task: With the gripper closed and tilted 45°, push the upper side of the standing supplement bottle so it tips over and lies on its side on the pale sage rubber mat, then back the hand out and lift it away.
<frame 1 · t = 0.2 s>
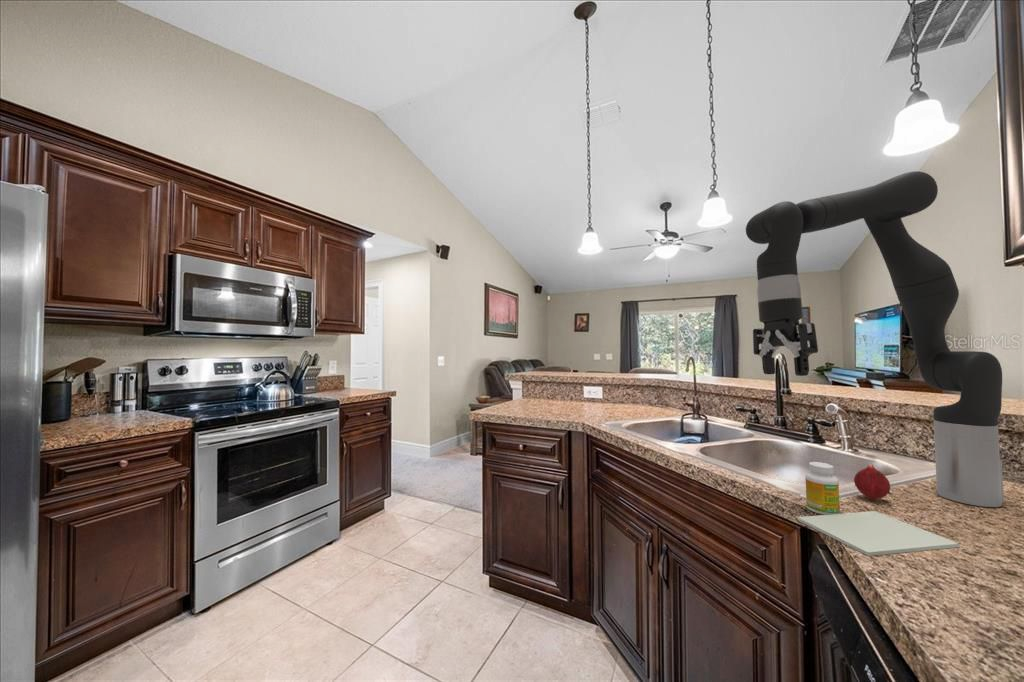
hand: (784, 374, 78), 29 cm above the countertop, tool pointing down, fingers open, 8 cm apart
supplement bottle: (822, 511, 78), on the countertop
onion: (872, 501, 83), on the countertop
mat: (872, 532, 69), on the countertop
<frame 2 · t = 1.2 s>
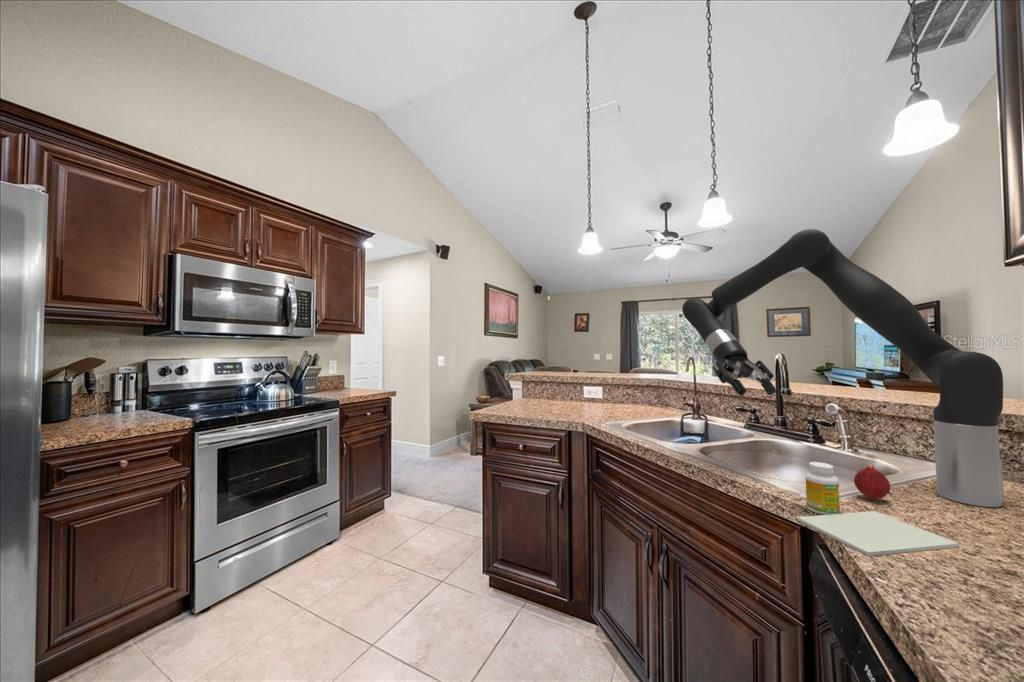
hand: (758, 393, 94), 23 cm above the countertop, tool tilted 45°, fingers open, 8 cm apart
nothing on the countertop moved.
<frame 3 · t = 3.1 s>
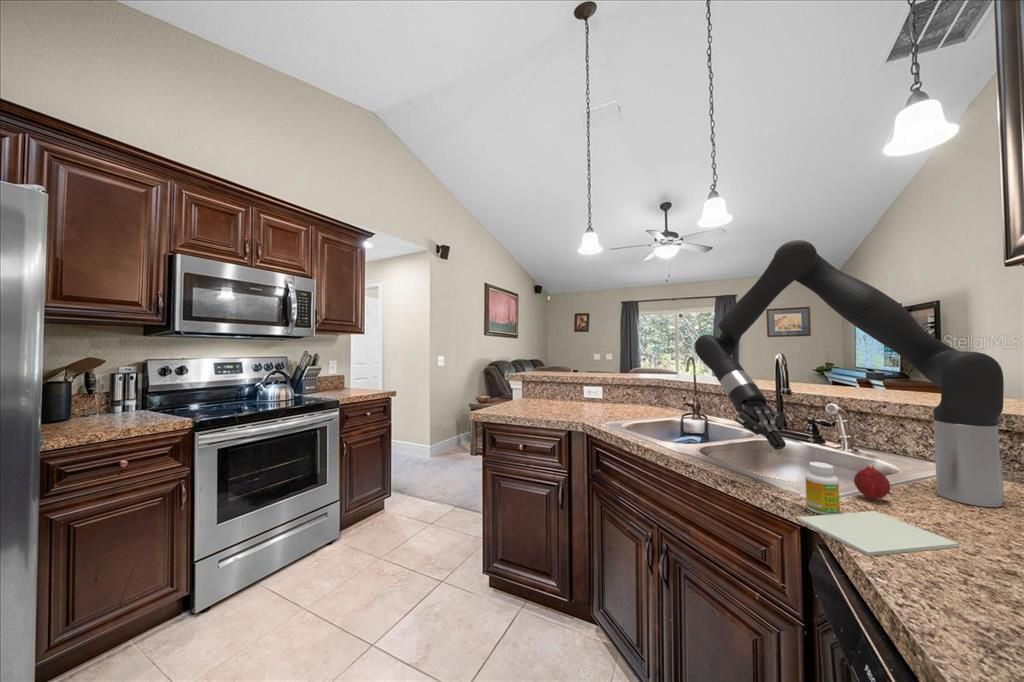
hand: (780, 447, 88), 11 cm above the countertop, tool tilted 45°, fingers closed
nothing on the countertop moved.
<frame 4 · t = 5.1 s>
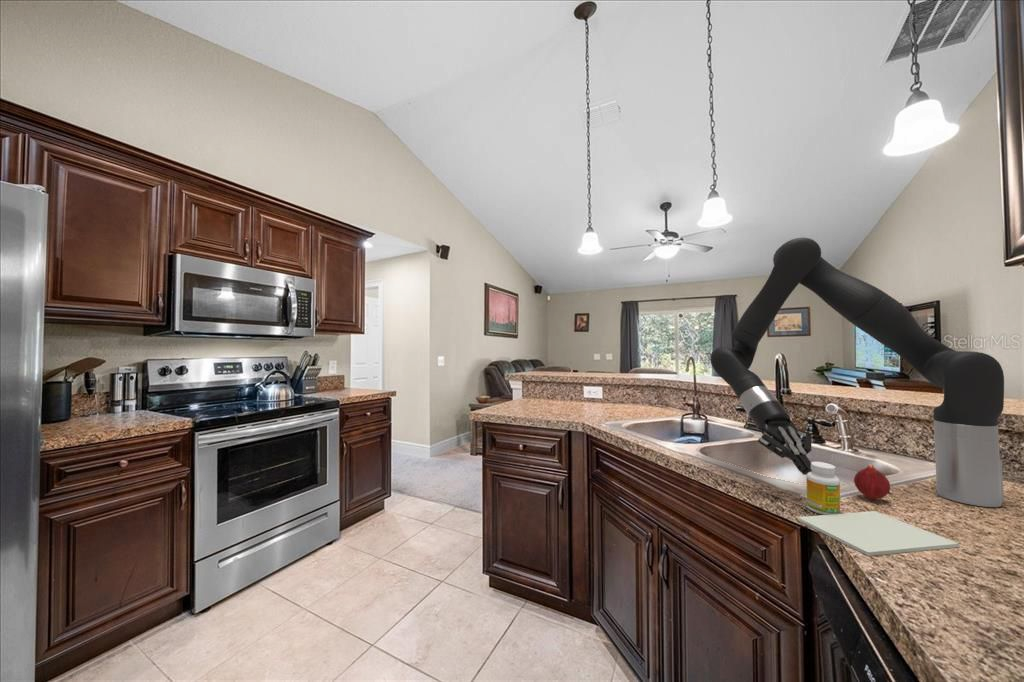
hand: (809, 472, 81), 7 cm above the countertop, tool tilted 45°, fingers closed
supplement bottle: (822, 511, 78), on the countertop, touching gripper
everything else where it was.
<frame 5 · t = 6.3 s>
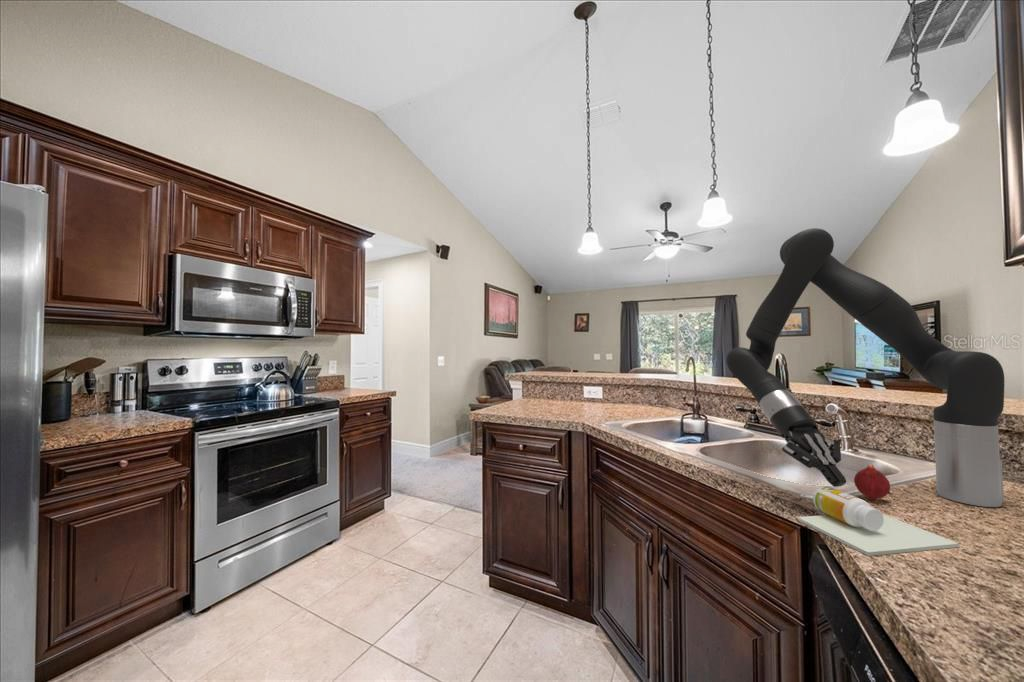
hand: (840, 484, 74), 7 cm above the countertop, tool tilted 45°, fingers closed
supplement bottle: (823, 498, 76), point 3 cm above the countertop, touching mat
everything else where it was.
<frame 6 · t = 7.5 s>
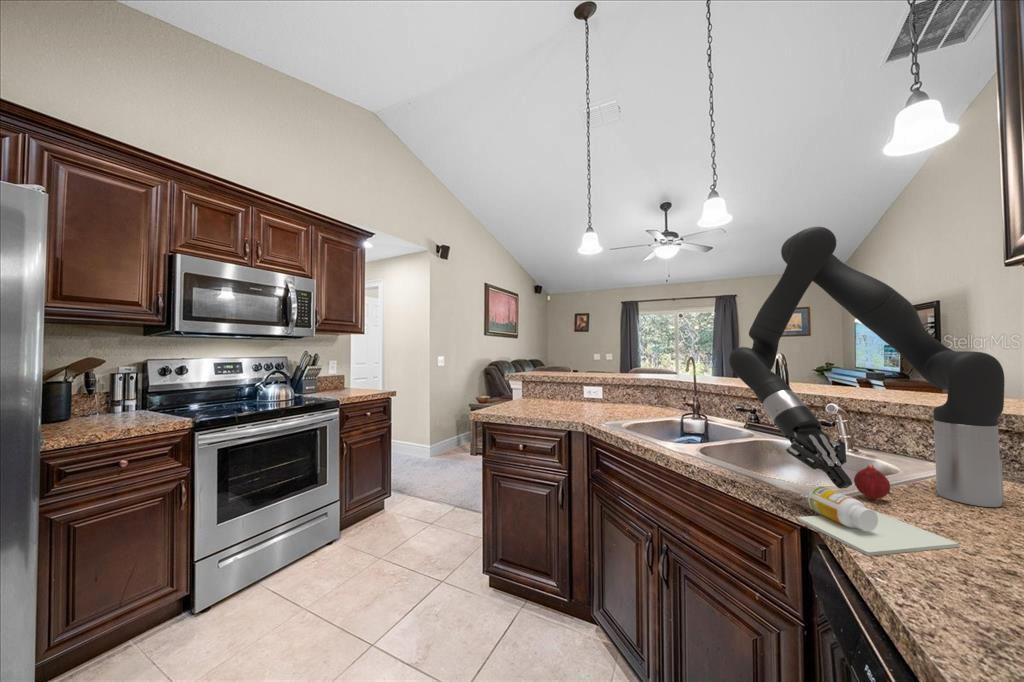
hand: (846, 486, 73), 7 cm above the countertop, tool tilted 45°, fingers closed
supplement bottle: (818, 498, 76), point 3 cm above the countertop, touching mat
everything else where it was.
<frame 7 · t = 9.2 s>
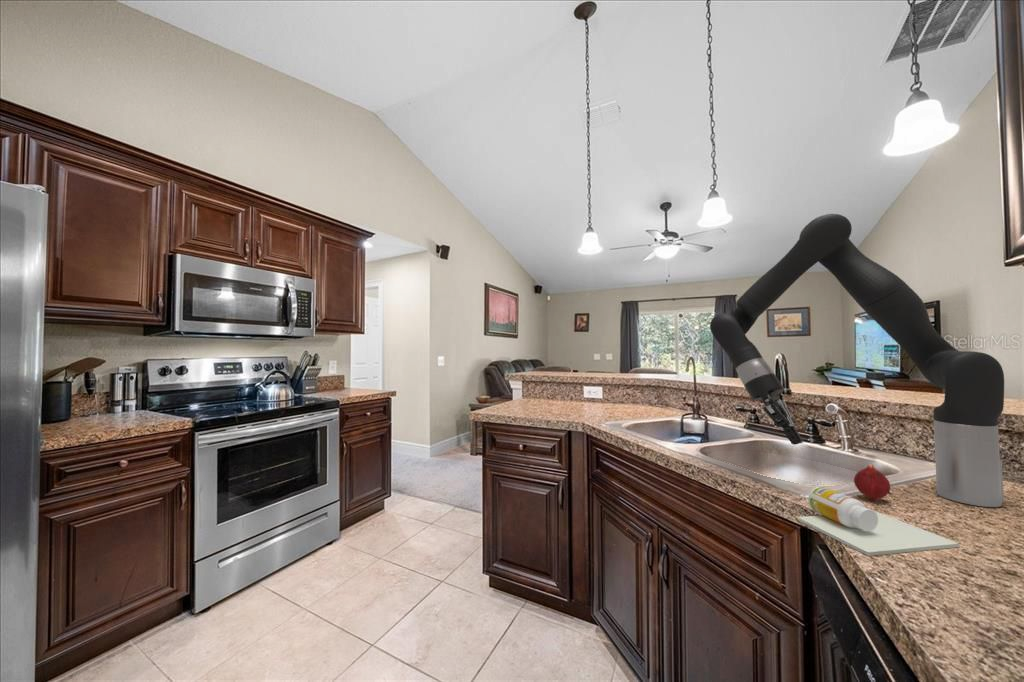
hand: (798, 443, 88), 12 cm above the countertop, tool tilted 30°, fingers closed
nothing on the countertop moved.
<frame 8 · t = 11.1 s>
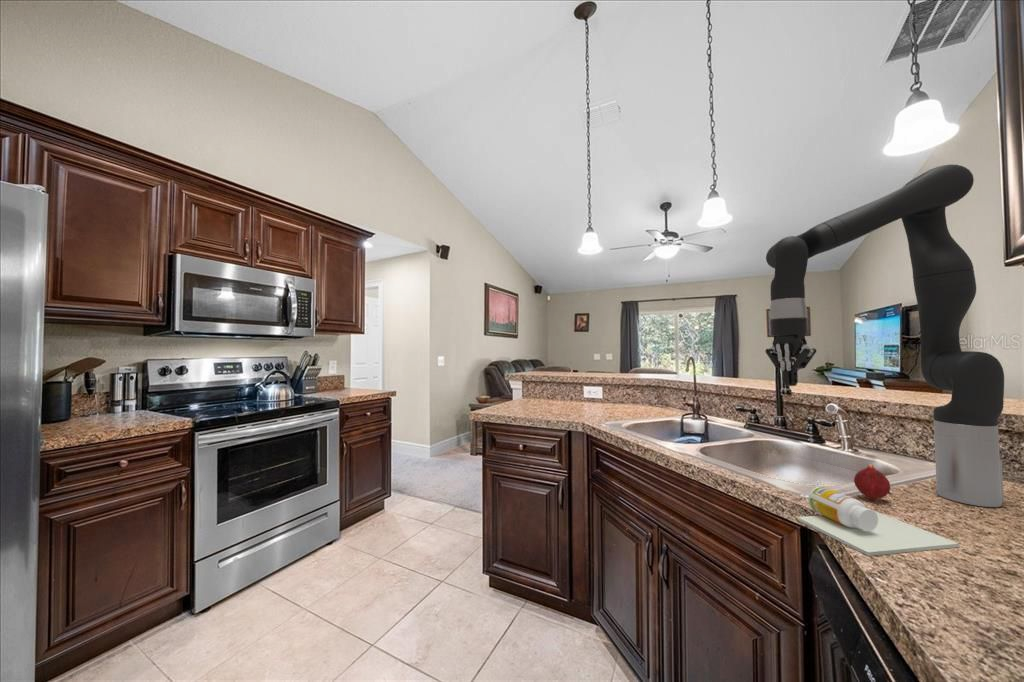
hand: (790, 385, 93), 25 cm above the countertop, tool pointing down, fingers closed
nothing on the countertop moved.
at the end: supplement bottle tilted 90°; supplement bottle touching mat; the gripper is holding nothing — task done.
